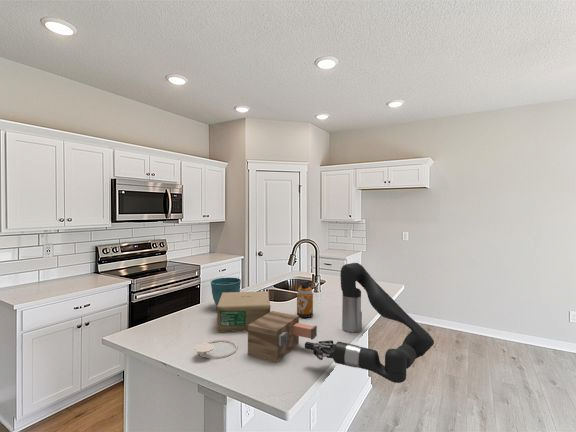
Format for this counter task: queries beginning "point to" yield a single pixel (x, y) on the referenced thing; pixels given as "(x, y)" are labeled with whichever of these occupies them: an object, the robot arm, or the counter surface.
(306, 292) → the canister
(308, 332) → the brick plug
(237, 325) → the paper package
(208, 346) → the hand towel holder
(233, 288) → the flower pot
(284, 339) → the grey plug
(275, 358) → the socket block
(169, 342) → the counter surface
